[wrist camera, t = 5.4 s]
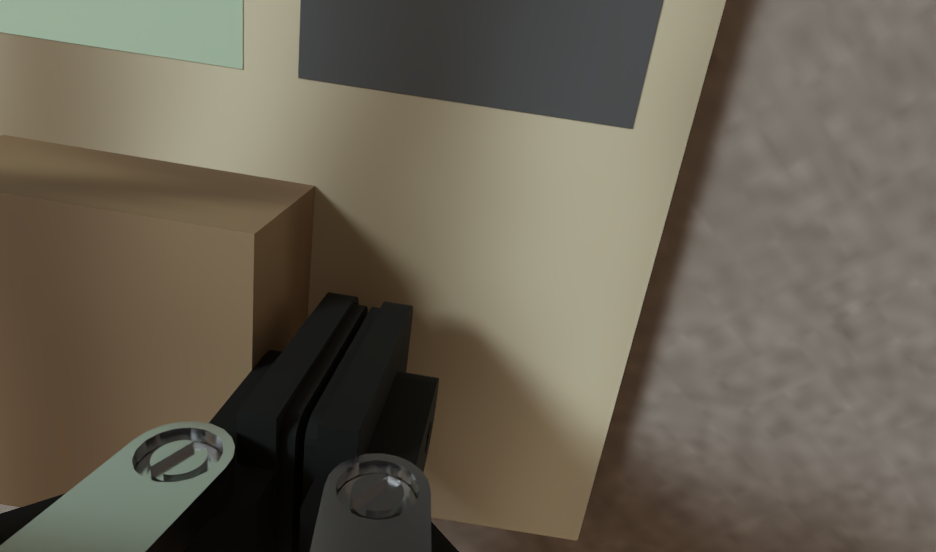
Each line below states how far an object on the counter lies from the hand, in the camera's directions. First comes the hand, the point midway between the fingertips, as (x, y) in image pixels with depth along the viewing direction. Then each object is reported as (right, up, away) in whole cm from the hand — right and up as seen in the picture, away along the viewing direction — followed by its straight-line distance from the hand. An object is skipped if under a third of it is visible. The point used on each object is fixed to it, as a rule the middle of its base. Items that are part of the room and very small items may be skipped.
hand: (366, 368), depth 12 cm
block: (-4, +1, +1) cm, 5 cm away
